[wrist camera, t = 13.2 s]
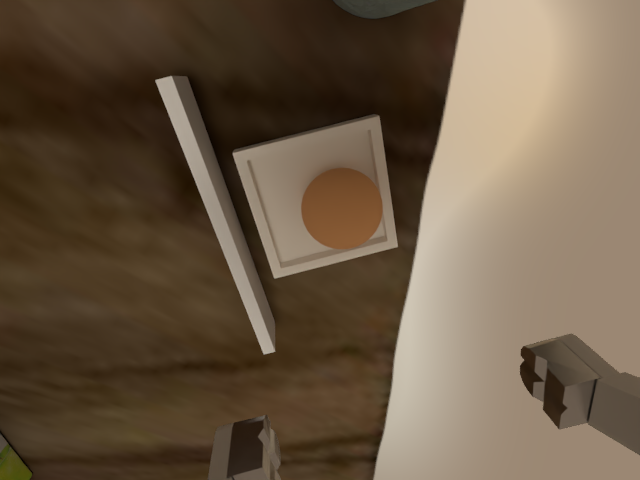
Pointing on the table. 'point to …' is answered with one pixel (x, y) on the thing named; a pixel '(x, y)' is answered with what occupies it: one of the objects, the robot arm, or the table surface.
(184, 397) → the table surface
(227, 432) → the robot arm
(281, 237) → the square tray
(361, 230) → the ball
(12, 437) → the table surface
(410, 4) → the grey green cup
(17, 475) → the snack box
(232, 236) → the low wall
